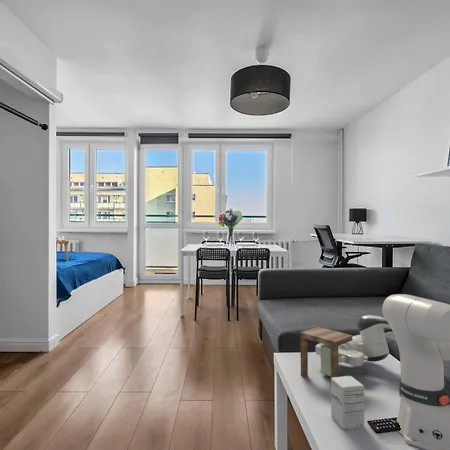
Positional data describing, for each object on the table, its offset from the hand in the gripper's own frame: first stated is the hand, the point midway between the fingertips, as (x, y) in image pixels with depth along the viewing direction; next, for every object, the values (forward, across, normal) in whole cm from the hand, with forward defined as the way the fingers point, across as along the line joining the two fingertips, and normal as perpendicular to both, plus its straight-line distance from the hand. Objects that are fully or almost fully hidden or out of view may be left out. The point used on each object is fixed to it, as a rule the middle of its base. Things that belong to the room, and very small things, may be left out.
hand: (328, 358), depth 142 cm
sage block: (-1, 0, -6) cm, 6 cm away
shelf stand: (+2, 0, -7) cm, 7 cm away
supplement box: (+25, -23, -7) cm, 35 cm away
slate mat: (-9, 0, -7) cm, 12 cm away
